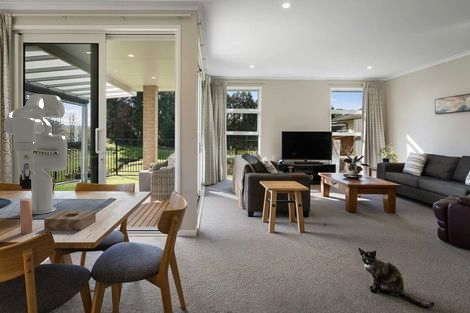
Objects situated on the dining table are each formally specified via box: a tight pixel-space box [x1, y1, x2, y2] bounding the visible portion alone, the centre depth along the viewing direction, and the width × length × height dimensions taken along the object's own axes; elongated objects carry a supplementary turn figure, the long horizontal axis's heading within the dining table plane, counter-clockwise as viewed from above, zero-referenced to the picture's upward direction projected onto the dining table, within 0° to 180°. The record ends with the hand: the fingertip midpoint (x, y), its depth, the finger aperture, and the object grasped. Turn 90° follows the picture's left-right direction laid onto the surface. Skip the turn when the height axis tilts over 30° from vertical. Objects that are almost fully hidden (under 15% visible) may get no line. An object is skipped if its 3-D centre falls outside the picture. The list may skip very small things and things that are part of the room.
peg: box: [19, 198, 33, 235], centre depth 124 cm, size 4×4×14 cm
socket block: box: [43, 210, 96, 232], centre depth 135 cm, size 16×14×5 cm
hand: (25, 187), depth 122 cm, fingers open, 9 cm apart
